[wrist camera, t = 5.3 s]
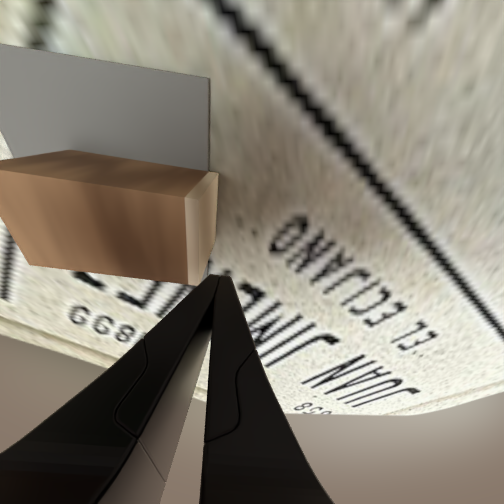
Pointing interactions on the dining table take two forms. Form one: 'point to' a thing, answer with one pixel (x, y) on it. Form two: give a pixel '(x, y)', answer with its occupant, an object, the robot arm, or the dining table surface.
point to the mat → (102, 109)
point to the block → (110, 215)
